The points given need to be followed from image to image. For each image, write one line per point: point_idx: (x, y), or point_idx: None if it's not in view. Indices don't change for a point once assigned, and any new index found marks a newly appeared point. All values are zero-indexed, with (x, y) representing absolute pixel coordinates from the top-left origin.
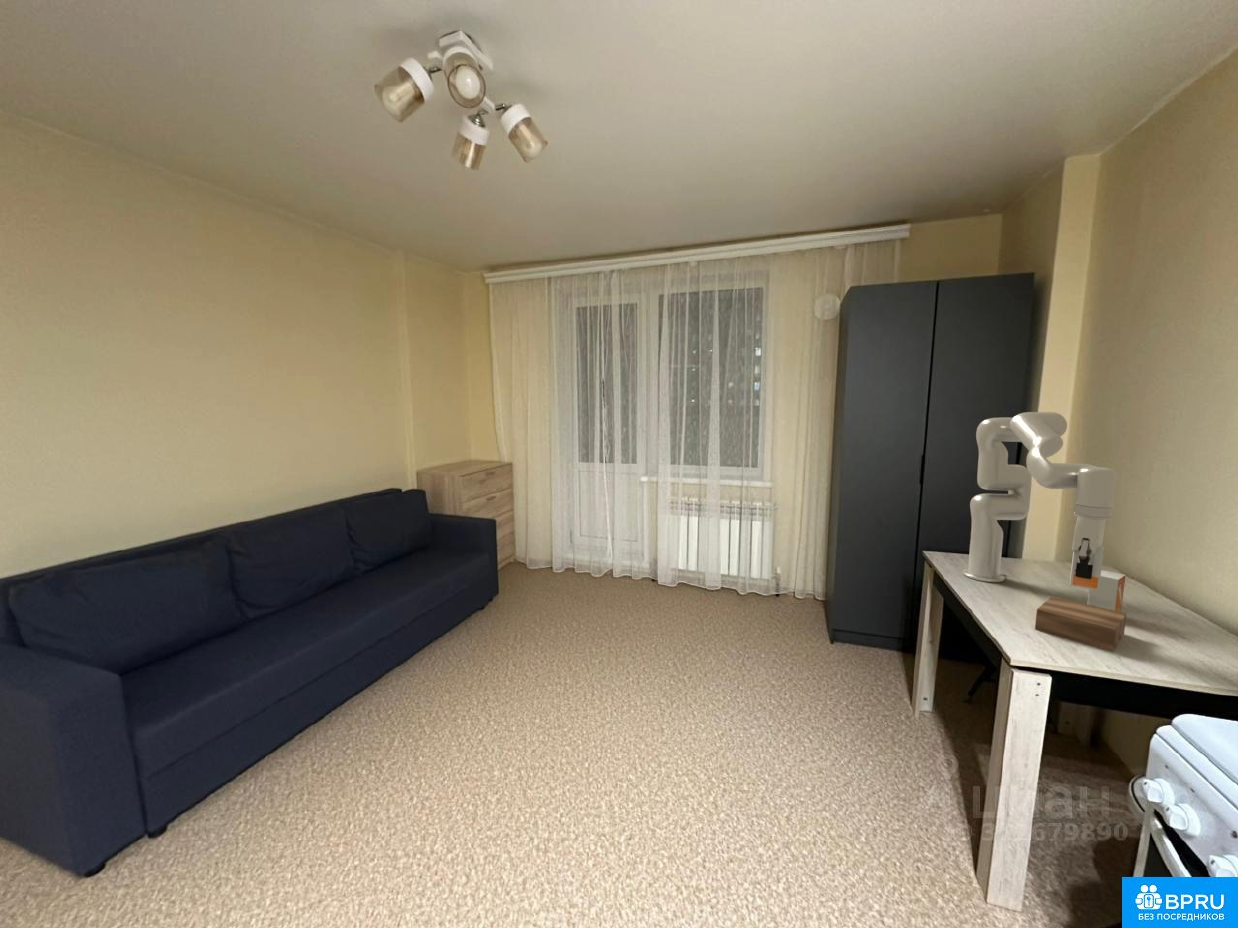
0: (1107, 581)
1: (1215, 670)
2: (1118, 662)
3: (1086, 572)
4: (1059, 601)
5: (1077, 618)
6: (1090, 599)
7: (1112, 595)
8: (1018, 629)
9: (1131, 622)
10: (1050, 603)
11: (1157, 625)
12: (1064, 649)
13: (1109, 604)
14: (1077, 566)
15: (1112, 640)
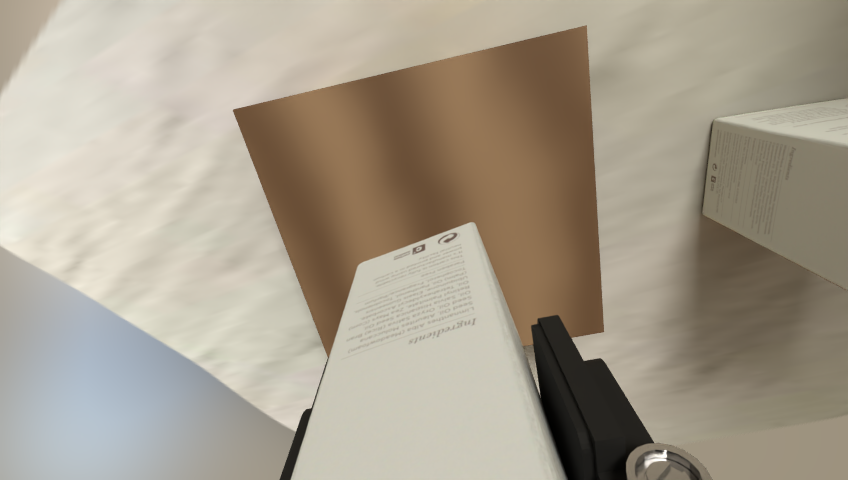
0: None
1: None
2: (275, 356)
3: None
4: (511, 104)
5: (311, 267)
6: (774, 145)
7: (803, 251)
8: (195, 63)
9: (751, 247)
10: (420, 96)
11: (790, 299)
12: (196, 249)
13: (759, 222)
14: None
15: None
